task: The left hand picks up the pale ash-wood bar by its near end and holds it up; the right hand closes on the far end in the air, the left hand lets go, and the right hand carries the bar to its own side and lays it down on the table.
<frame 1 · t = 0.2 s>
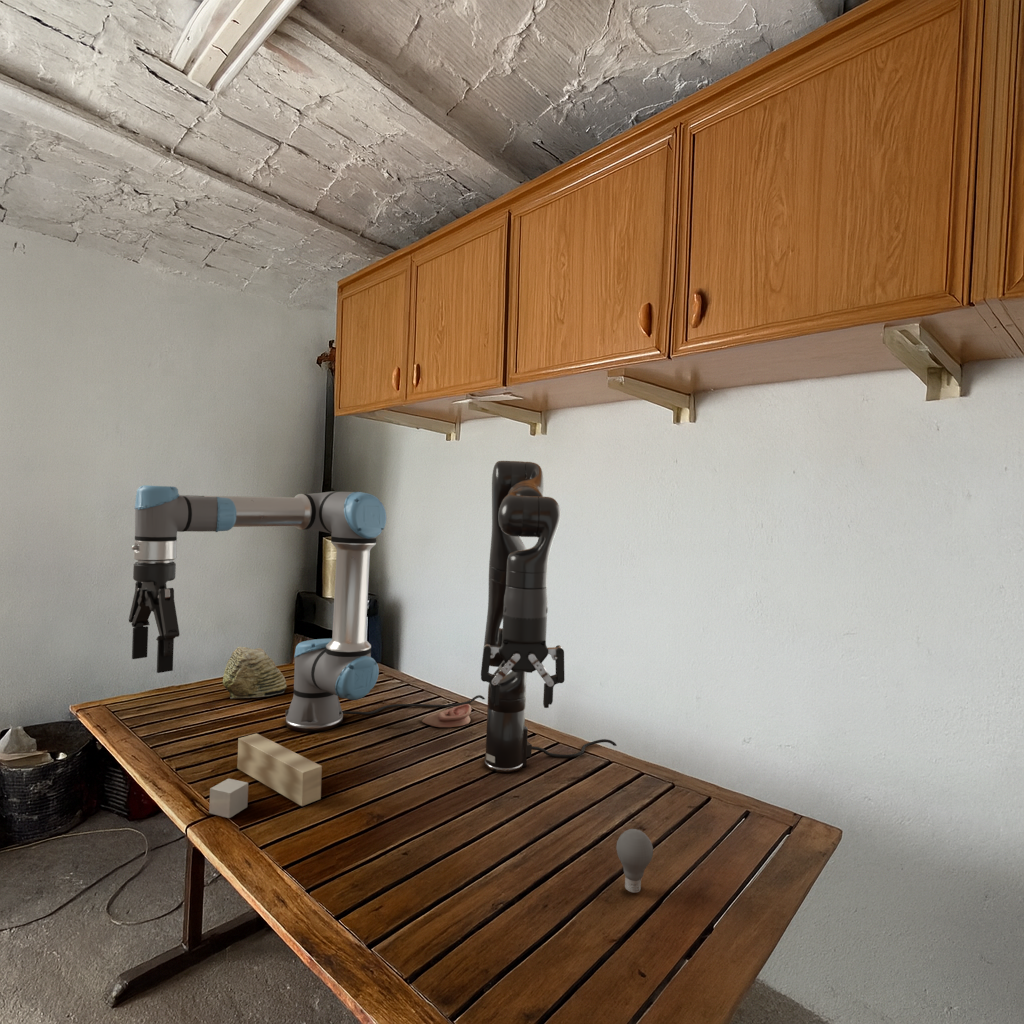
left hand: (151, 664, 130), 28 cm above the table, fingers open, 13 cm apart
right hand: (521, 706, 109), 29 cm above the table, fingers open, 8 cm apart
ash bar: (277, 783, 139), on the table
fossil: (254, 694, 198), on the table
grey block: (228, 810, 127), on the table
light bulb: (632, 891, 106), on the table
anatomical model: (446, 721, 182), on the table
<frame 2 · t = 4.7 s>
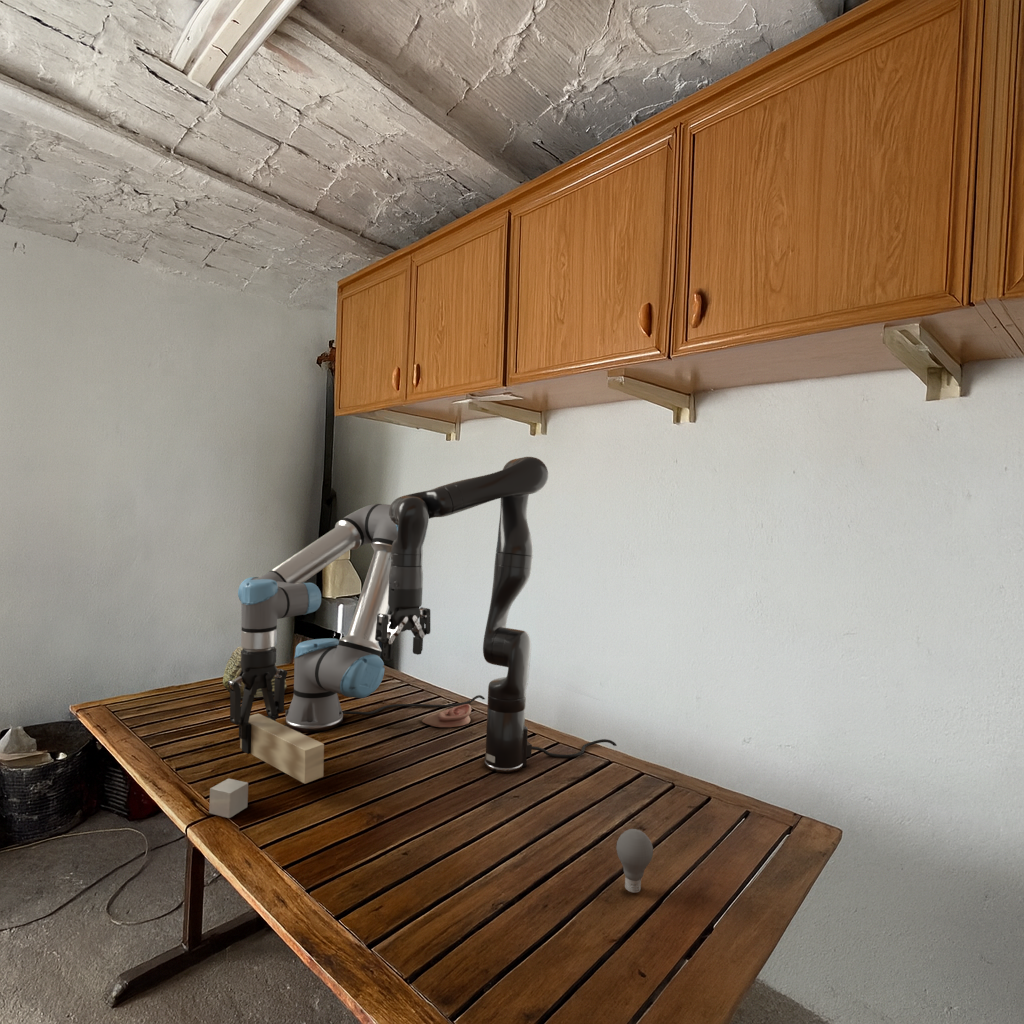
left hand: (257, 748, 146), 5 cm above the table, fingers closed on ash bar, 4 cm apart
right hand: (402, 657, 142), 28 cm above the table, fingers open, 8 cm apart
ash bar: (279, 761, 140), point 5 cm above the table, touching left hand
everything else where it was.
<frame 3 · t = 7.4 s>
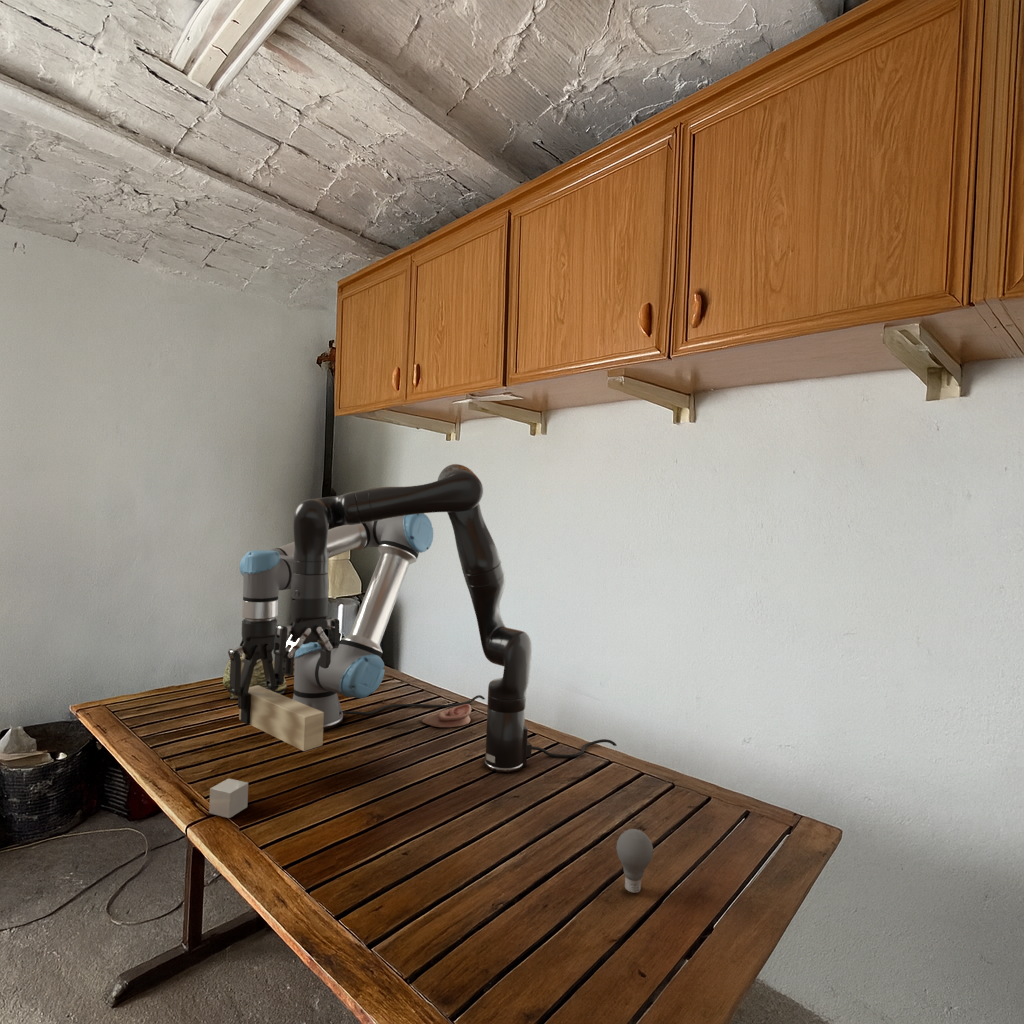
left hand: (256, 719, 145), 12 cm above the table, fingers closed on ash bar, 4 cm apart
right hand: (306, 671, 133), 27 cm above the table, fingers open, 8 cm apart
ash bar: (278, 731, 139), point 11 cm above the table, touching left hand
everything else where it was.
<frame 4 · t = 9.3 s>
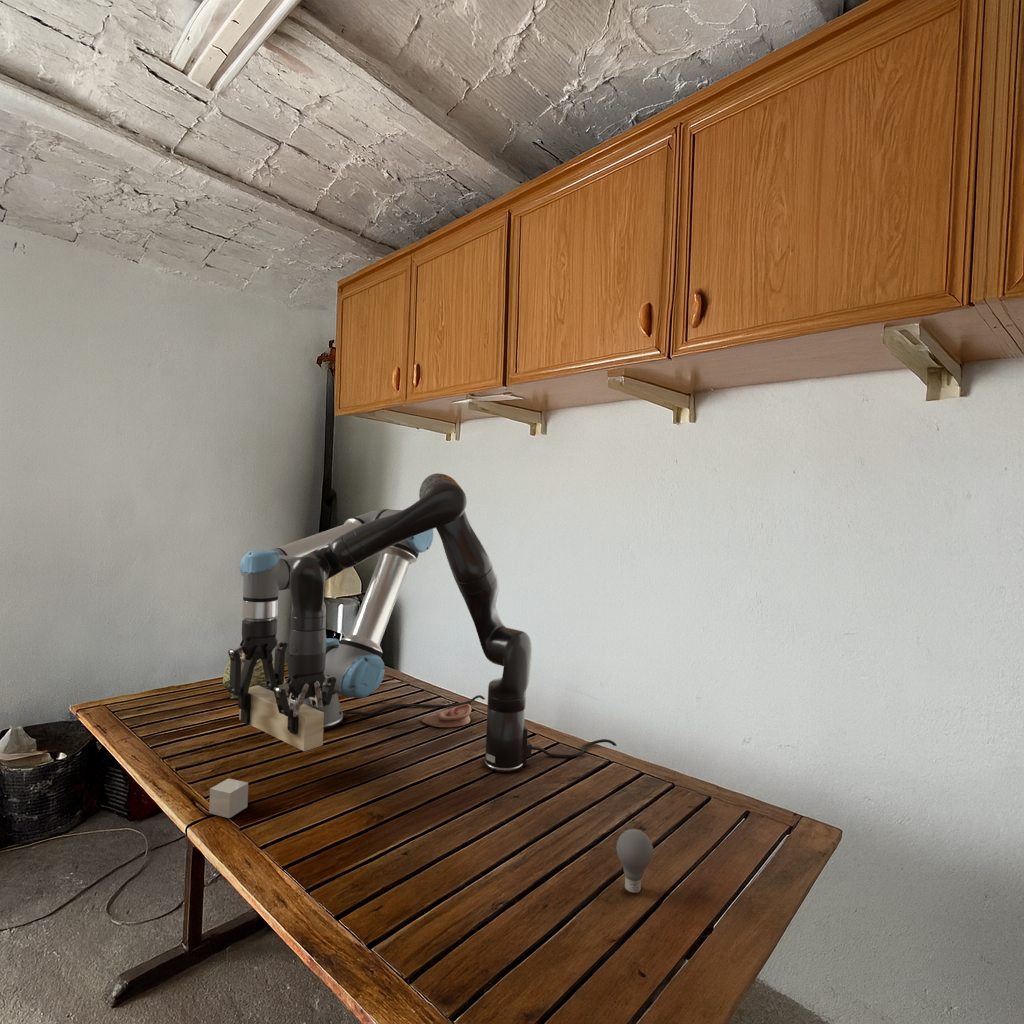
left hand: (256, 719, 145), 12 cm above the table, fingers closed on ash bar, 4 cm apart
right hand: (304, 729, 133), 14 cm above the table, fingers closed on ash bar, 4 cm apart
ash bar: (279, 731, 139), point 11 cm above the table, touching left hand, right hand
everything else where it was.
when the left hand's fingers open (12 cm above the table, at t = 10.1 s): ash bar stays where it is, held by the right hand.
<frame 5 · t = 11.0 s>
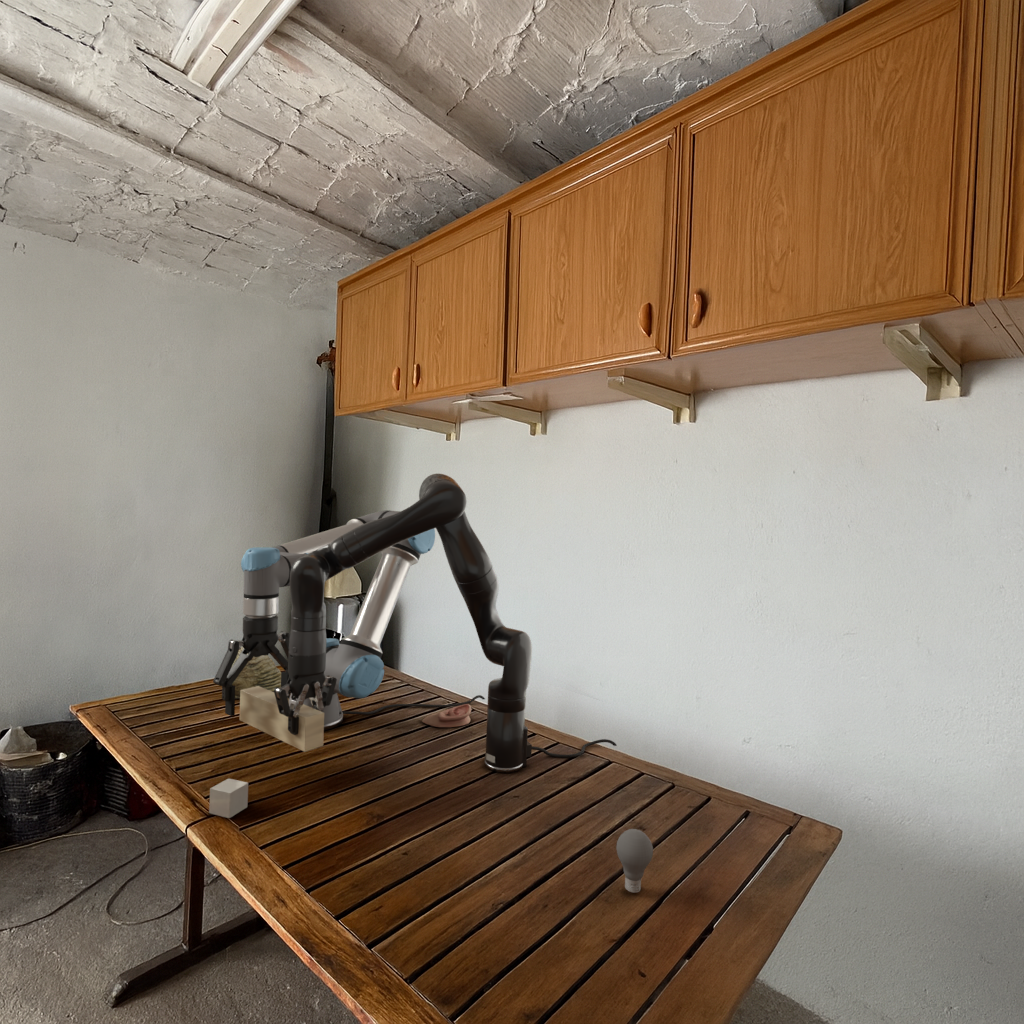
left hand: (258, 707, 146), 14 cm above the table, fingers open, 13 cm apart
right hand: (304, 730, 133), 14 cm above the table, fingers closed on ash bar, 4 cm apart
ash bar: (279, 732, 139), point 11 cm above the table, touching right hand
everything else where it was.
when the right hand's fingers open (4 cm above the table, at t = 19.4 s): ash bar stays where it is, on the table.
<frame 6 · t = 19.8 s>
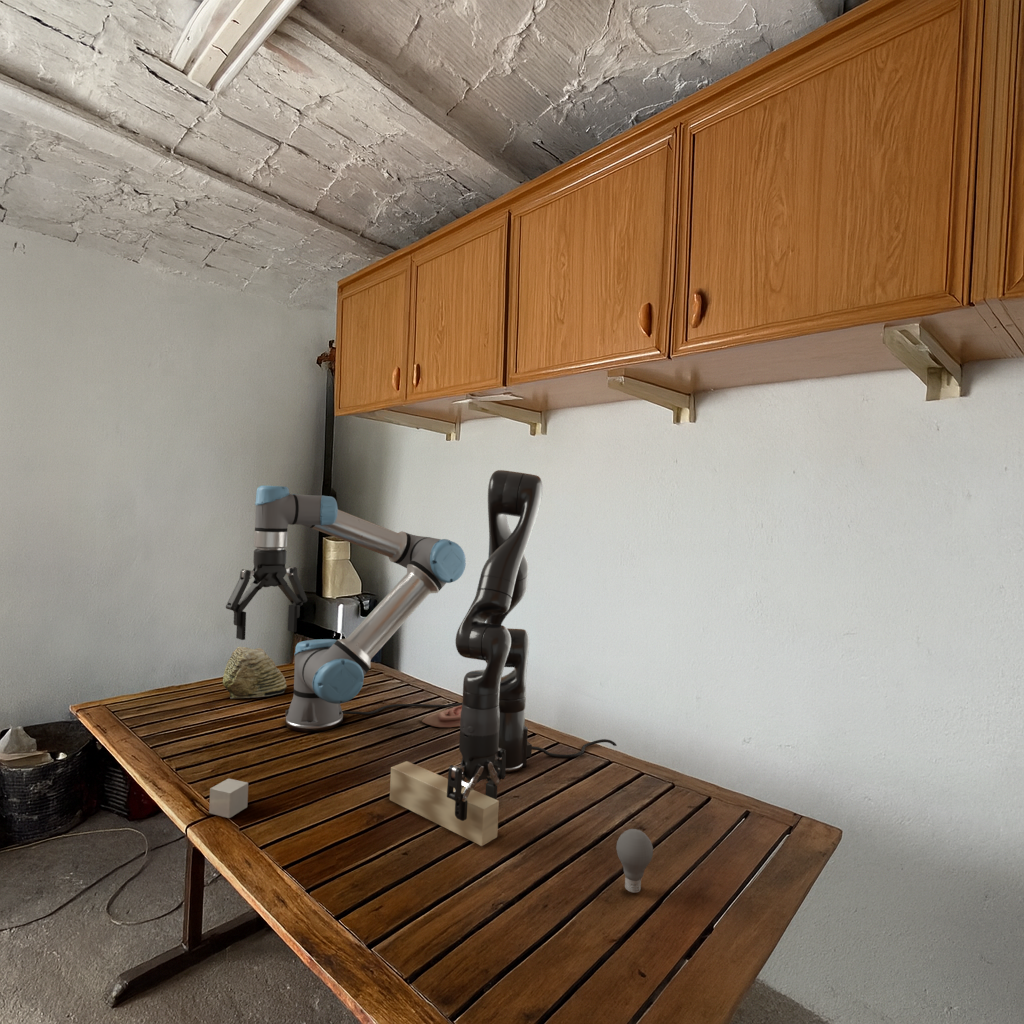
left hand: (267, 635, 155), 29 cm above the table, fingers open, 13 cm apart
right hand: (476, 810, 121), 5 cm above the table, fingers open, 8 cm apart
ash bar: (440, 817, 127), on the table
everything else where it was.
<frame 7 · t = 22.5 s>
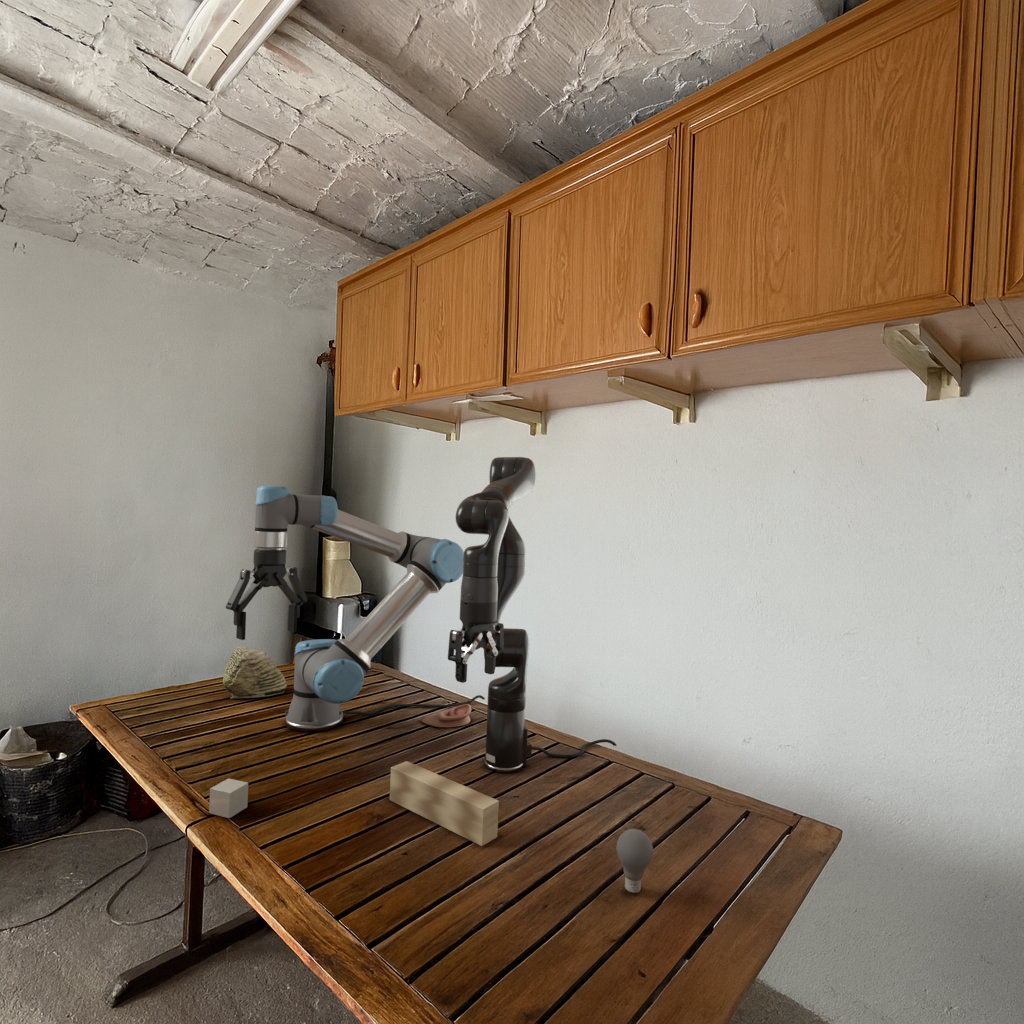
left hand: (267, 635, 155), 29 cm above the table, fingers open, 13 cm apart
right hand: (475, 677, 129), 28 cm above the table, fingers open, 8 cm apart
nothing on the table moved.
at the end: ash bar inside the target area (0.2 cm from its centre), on the table; both hands held the ash bar at the same time; the left hand is holding nothing; the right hand is holding nothing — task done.
